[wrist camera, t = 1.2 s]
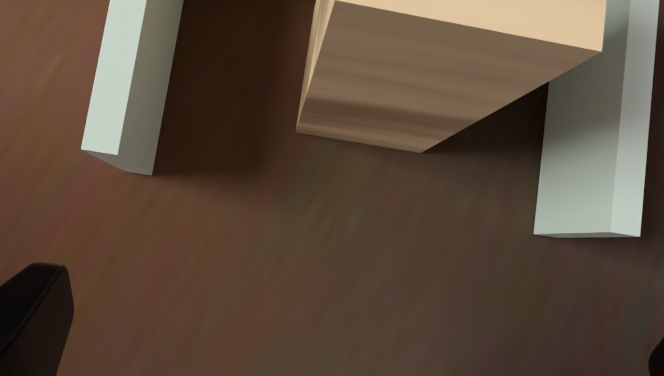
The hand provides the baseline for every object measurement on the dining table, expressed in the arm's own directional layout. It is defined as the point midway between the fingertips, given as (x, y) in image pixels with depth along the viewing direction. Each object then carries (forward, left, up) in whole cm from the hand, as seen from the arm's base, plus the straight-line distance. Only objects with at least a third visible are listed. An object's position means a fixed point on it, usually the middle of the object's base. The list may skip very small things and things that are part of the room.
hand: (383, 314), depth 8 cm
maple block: (+5, -6, -13) cm, 15 cm away
